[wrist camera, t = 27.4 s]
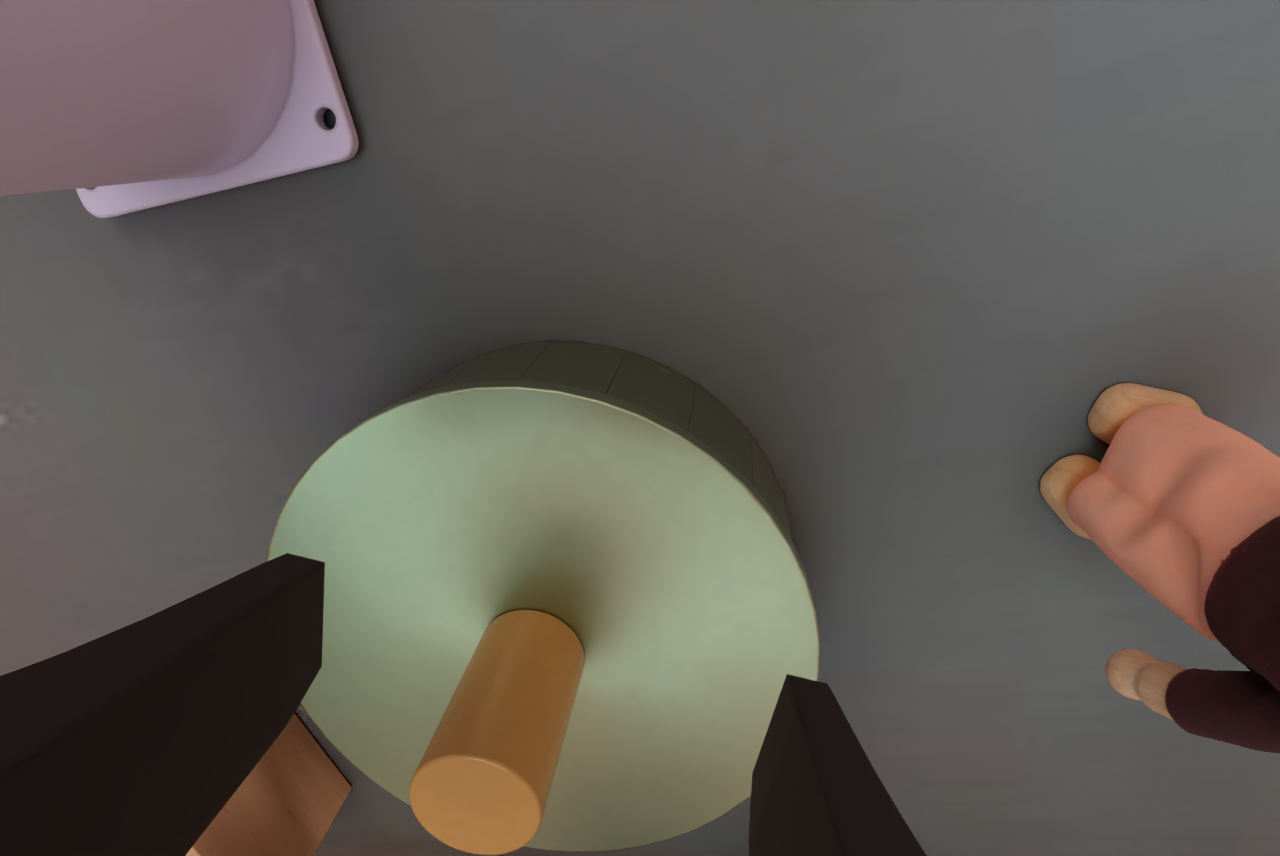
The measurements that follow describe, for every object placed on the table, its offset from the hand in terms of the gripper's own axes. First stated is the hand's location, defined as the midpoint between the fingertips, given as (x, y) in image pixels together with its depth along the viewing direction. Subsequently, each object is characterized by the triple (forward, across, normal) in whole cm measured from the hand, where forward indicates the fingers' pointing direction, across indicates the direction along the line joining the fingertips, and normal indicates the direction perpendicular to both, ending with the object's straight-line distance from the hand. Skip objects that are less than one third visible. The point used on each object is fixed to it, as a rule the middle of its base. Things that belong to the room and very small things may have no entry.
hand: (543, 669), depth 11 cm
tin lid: (+6, +1, +5) cm, 8 cm away
